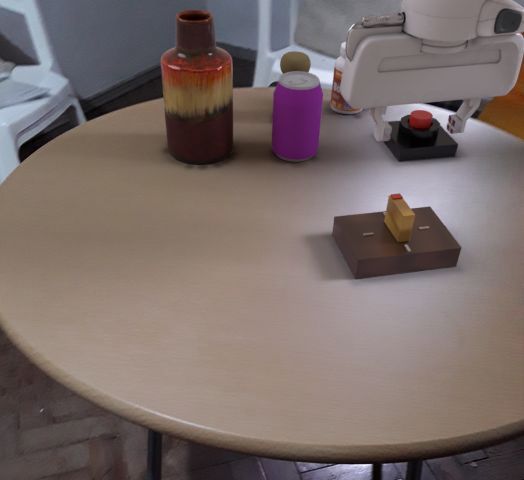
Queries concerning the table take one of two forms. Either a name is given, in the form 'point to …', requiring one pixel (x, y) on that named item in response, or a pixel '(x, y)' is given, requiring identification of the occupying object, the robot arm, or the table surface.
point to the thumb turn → (399, 217)
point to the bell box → (419, 141)
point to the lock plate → (394, 244)
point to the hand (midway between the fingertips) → (418, 135)
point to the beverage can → (296, 116)
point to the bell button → (420, 119)
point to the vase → (197, 92)
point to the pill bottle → (336, 96)
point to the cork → (295, 62)
